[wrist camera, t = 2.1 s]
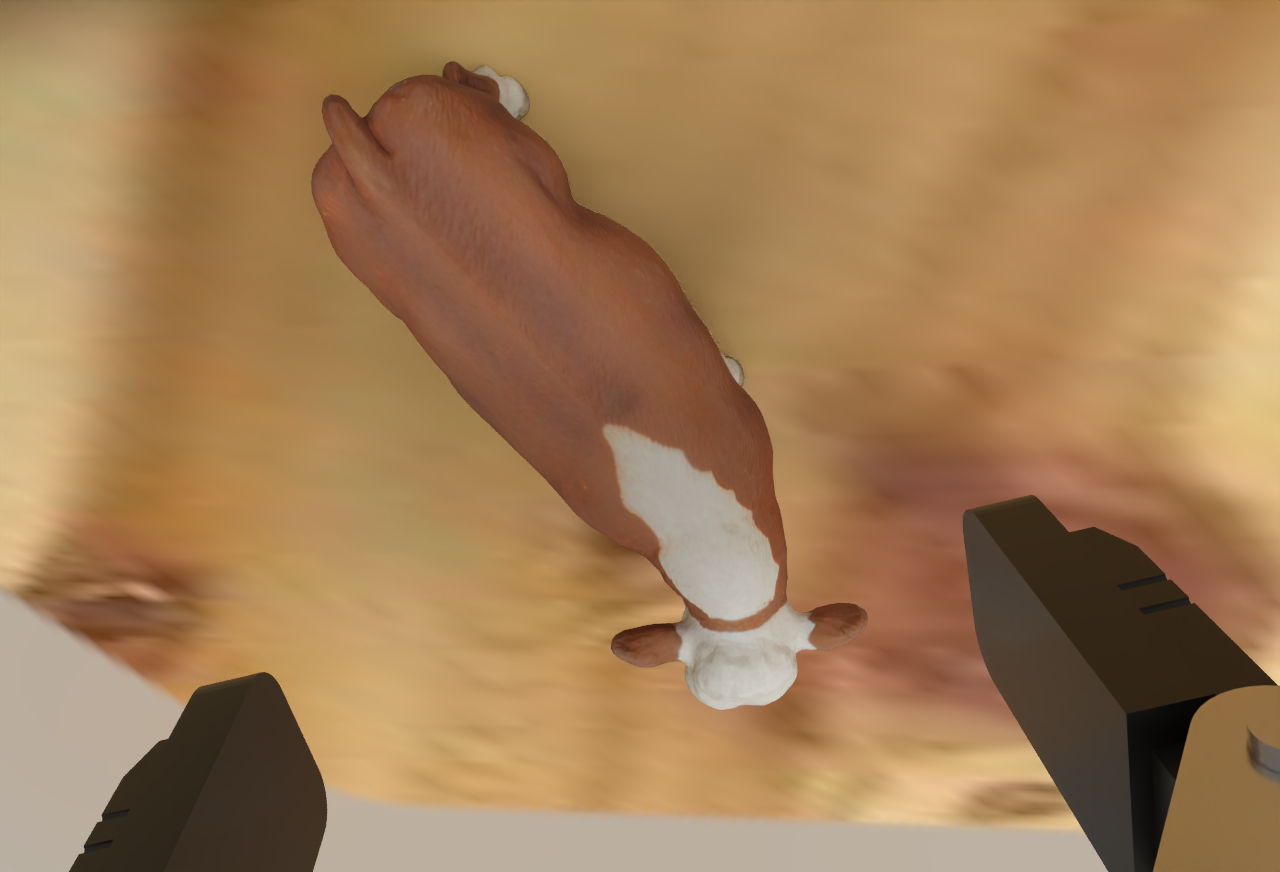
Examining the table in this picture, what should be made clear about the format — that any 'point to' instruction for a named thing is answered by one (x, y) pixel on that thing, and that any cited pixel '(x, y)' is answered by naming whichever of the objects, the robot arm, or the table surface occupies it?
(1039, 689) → the robot arm
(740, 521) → the bull figurine
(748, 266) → the table surface
